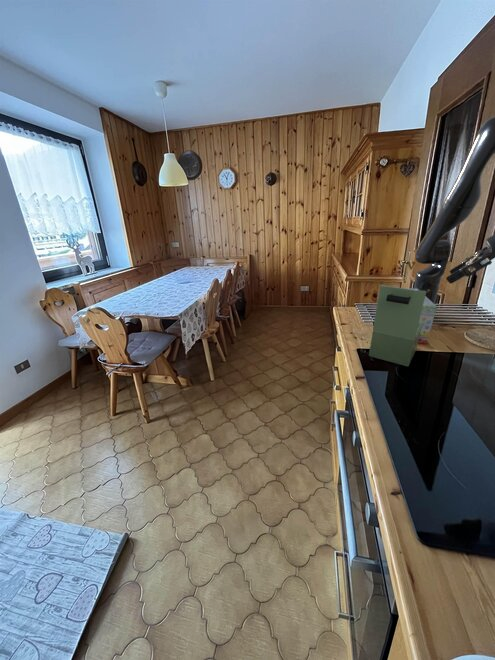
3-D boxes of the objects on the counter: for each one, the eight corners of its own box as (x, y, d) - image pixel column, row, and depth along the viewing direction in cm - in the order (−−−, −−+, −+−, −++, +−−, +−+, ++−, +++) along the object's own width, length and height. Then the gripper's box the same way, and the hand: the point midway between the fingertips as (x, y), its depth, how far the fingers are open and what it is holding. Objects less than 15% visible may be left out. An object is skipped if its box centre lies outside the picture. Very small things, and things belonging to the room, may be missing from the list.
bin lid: (380, 285, 89) (376, 288, 86) (426, 291, 82) (423, 295, 79) (373, 329, 96) (368, 335, 92) (414, 338, 89) (411, 345, 85)
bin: (380, 339, 110) (384, 316, 106) (416, 348, 103) (422, 323, 99) (368, 355, 100) (372, 331, 96) (408, 366, 93) (414, 340, 89)
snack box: (428, 344, 105) (438, 306, 98) (411, 343, 106) (420, 306, 100) (410, 320, 124) (418, 287, 117) (396, 320, 125) (403, 287, 118)
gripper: (504, 224, 77) (444, 262, 89) (505, 231, 67) (437, 273, 79) (523, 245, 77) (460, 281, 88) (527, 255, 67) (455, 294, 78)
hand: (449, 277), depth 84 cm, fingers open, 8 cm apart
